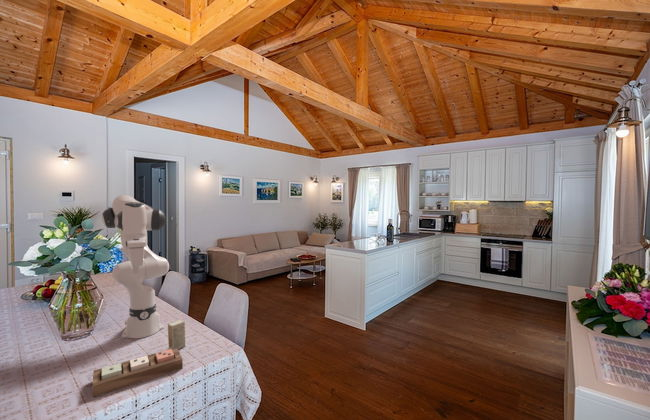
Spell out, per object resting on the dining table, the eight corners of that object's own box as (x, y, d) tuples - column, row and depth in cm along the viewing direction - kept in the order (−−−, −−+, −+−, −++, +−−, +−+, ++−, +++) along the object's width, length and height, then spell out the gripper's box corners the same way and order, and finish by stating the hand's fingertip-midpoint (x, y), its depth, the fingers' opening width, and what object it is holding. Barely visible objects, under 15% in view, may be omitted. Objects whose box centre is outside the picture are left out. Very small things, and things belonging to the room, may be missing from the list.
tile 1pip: (102, 380, 111) (101, 367, 111) (121, 375, 115) (120, 362, 114) (102, 389, 106) (101, 375, 106) (121, 382, 110) (121, 369, 110)
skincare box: (181, 343, 141) (181, 319, 140) (185, 346, 138) (185, 321, 137) (167, 348, 136) (167, 323, 135) (171, 352, 133) (171, 326, 132)
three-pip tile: (155, 364, 122) (155, 352, 122) (171, 360, 125) (171, 348, 125) (157, 371, 117) (157, 358, 117) (174, 366, 121) (174, 354, 121)
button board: (93, 380, 112) (93, 370, 112) (176, 355, 129) (176, 347, 129) (92, 397, 102) (92, 386, 102) (182, 368, 120) (182, 358, 120)
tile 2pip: (130, 372, 116) (130, 359, 116) (147, 367, 120) (147, 355, 120) (131, 379, 112) (131, 366, 111) (149, 374, 115) (149, 361, 115)
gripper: (124, 238, 128) (125, 269, 129) (127, 244, 112) (128, 279, 112) (141, 237, 132) (142, 267, 133) (146, 242, 116) (147, 276, 116)
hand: (135, 273), depth 122 cm, fingers closed
